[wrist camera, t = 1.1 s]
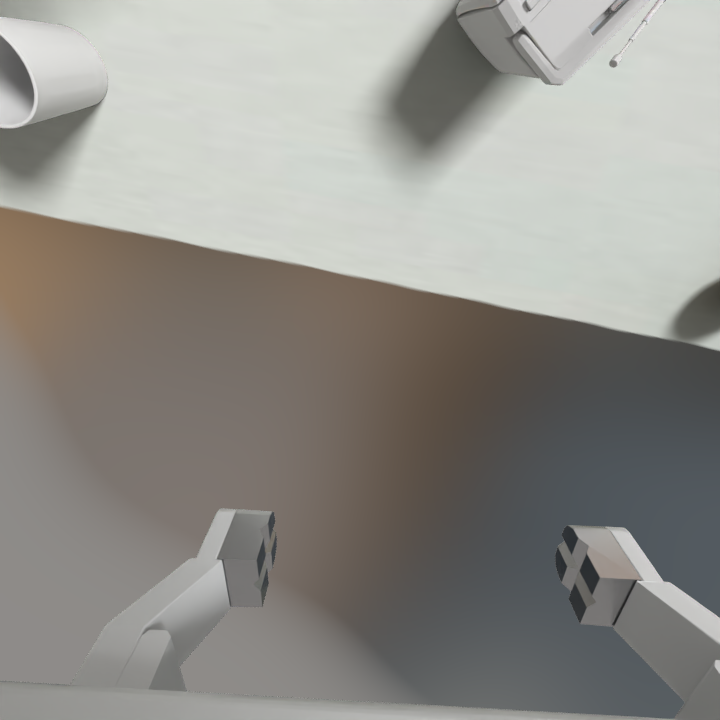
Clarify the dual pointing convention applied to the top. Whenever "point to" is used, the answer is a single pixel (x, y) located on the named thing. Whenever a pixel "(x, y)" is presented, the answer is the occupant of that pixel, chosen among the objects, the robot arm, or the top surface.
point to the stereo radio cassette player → (546, 33)
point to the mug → (46, 72)
